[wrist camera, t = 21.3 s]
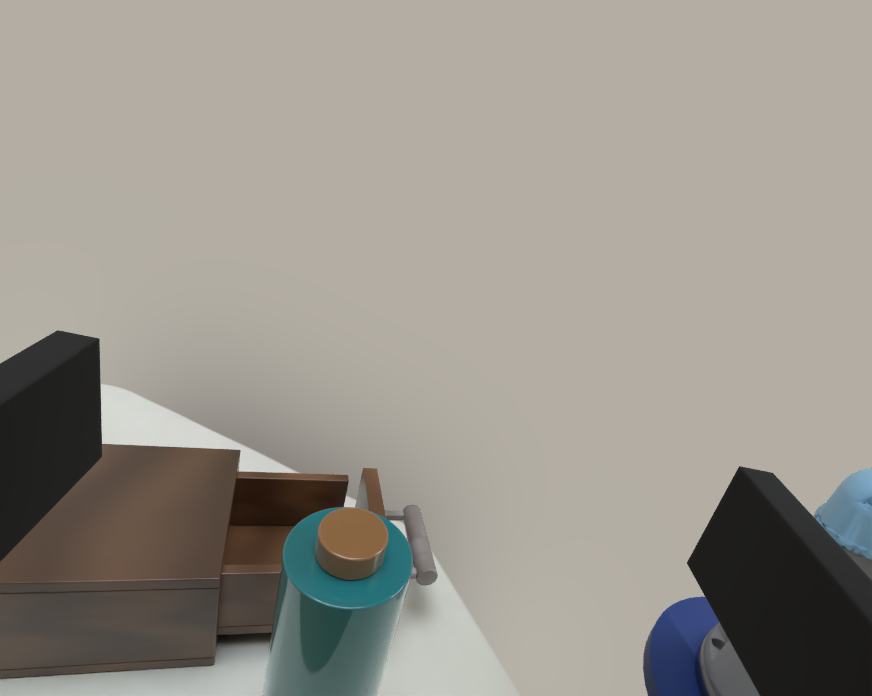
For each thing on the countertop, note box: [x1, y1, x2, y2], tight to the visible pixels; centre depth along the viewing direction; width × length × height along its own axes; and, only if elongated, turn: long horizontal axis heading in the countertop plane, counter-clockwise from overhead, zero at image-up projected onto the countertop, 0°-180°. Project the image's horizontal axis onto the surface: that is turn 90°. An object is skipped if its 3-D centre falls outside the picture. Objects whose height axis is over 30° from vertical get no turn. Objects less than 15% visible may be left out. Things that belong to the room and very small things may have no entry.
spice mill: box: [263, 507, 413, 696], centre depth 27 cm, size 6×6×20 cm
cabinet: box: [0, 444, 240, 678], centre depth 38 cm, size 17×13×8 cm
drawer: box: [217, 468, 437, 635], centre depth 41 cm, size 20×11×6 cm, turn 102°
